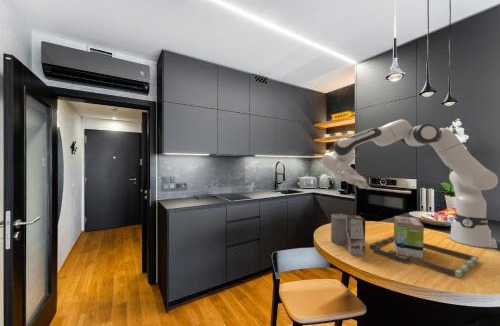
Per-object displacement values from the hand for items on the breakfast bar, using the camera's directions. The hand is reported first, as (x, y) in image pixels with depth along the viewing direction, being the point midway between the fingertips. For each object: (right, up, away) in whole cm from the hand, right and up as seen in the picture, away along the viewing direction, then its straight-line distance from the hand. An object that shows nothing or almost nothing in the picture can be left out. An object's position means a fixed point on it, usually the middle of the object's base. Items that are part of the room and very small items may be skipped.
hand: (365, 187), depth 115 cm
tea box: (+13, -29, -12) cm, 34 cm away
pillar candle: (-14, -29, -1) cm, 32 cm away
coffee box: (-12, -29, -13) cm, 33 cm away
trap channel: (+15, -29, -17) cm, 36 cm away
